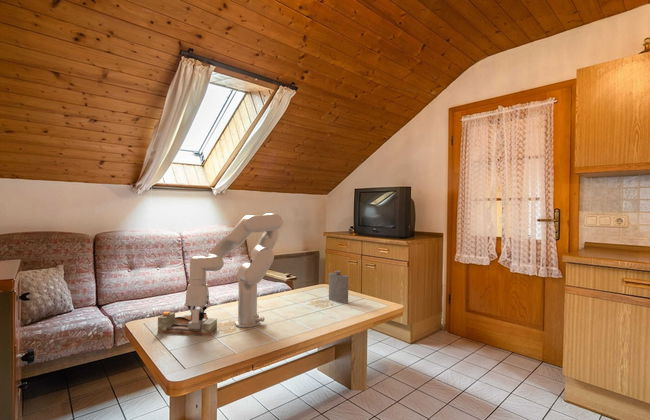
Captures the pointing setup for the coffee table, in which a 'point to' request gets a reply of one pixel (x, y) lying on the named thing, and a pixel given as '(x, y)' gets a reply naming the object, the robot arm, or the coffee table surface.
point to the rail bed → (185, 326)
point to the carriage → (196, 320)
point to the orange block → (166, 313)
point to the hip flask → (338, 287)
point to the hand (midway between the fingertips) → (197, 319)
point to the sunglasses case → (186, 319)
